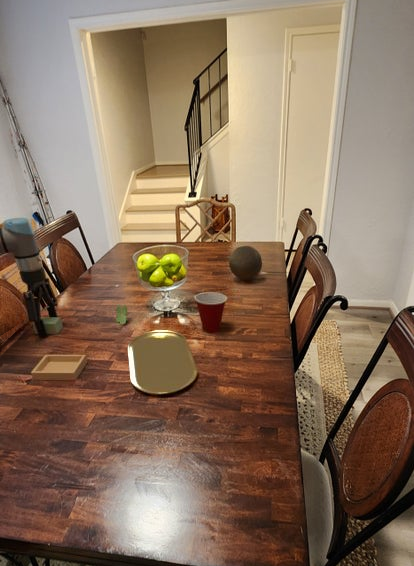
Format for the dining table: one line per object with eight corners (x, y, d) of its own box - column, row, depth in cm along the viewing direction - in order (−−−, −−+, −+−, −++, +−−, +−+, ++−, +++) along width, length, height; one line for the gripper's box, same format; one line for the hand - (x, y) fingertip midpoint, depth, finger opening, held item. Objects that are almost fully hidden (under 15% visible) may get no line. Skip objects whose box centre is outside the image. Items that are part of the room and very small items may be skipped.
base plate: (33, 380, 106) (30, 372, 104) (48, 361, 114) (45, 354, 113) (75, 380, 105) (73, 372, 103) (87, 361, 113) (85, 354, 111)
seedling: (130, 331, 139) (116, 328, 133) (125, 313, 141) (111, 309, 136) (143, 321, 135) (129, 318, 130) (137, 303, 138) (124, 299, 133)
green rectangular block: (35, 333, 130) (32, 323, 128) (42, 327, 134) (38, 317, 132) (57, 333, 129) (54, 323, 127) (63, 327, 134) (60, 317, 131)
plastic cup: (234, 329, 126) (234, 297, 120) (208, 339, 121) (206, 306, 115) (215, 318, 134) (214, 287, 128) (190, 327, 129) (188, 295, 123)
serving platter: (182, 330, 127) (181, 326, 126) (204, 390, 98) (204, 386, 97) (127, 338, 124) (126, 334, 123) (132, 403, 95) (132, 398, 94)
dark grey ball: (234, 273, 173) (234, 241, 165) (264, 276, 169) (265, 243, 161) (225, 284, 162) (224, 250, 154) (257, 287, 158) (258, 252, 150)
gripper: (25, 280, 110) (46, 345, 122) (56, 258, 129) (71, 316, 141) (1, 280, 111) (24, 345, 123) (35, 258, 129) (52, 316, 141)
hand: (49, 329), depth 132 cm, fingers open, 9 cm apart
